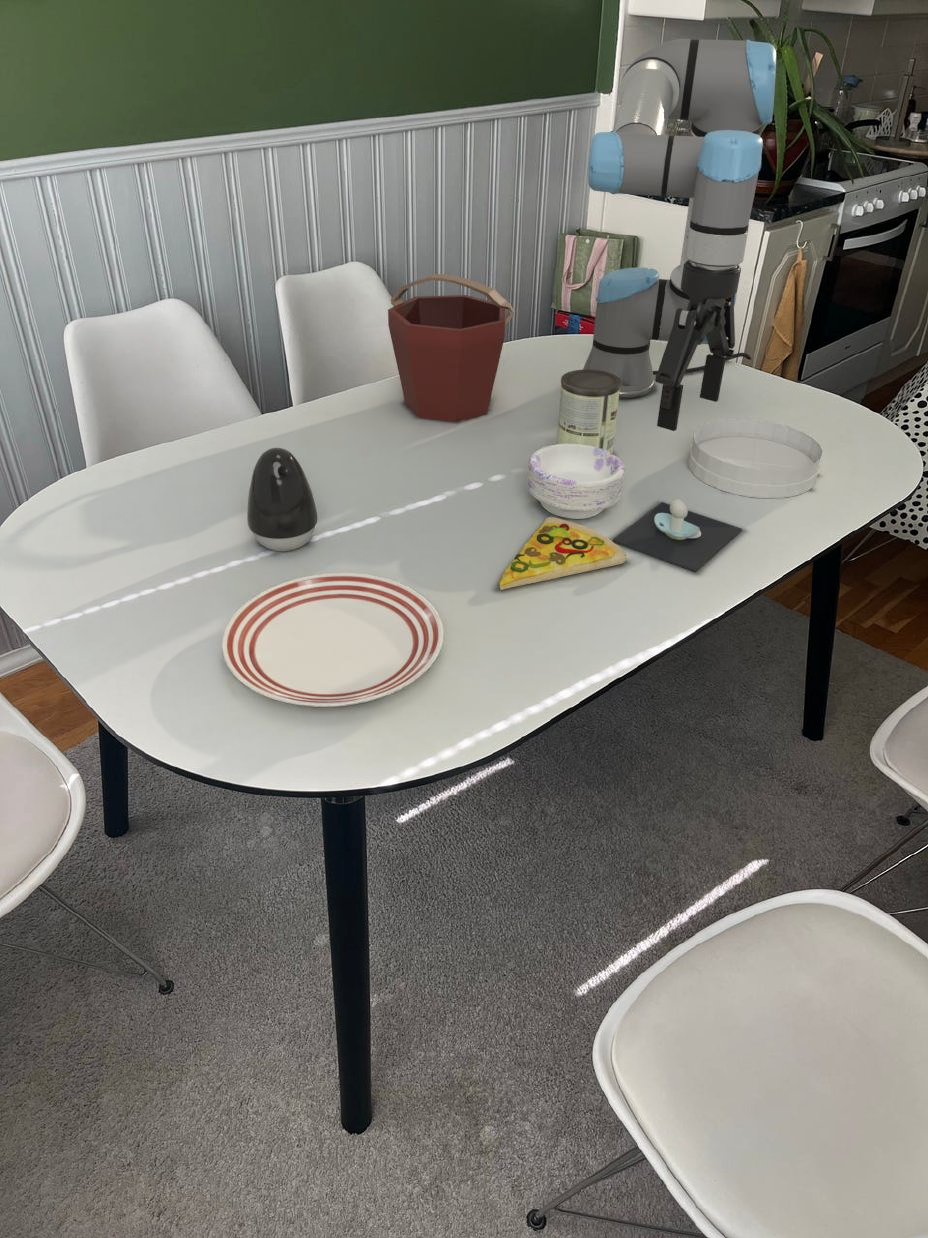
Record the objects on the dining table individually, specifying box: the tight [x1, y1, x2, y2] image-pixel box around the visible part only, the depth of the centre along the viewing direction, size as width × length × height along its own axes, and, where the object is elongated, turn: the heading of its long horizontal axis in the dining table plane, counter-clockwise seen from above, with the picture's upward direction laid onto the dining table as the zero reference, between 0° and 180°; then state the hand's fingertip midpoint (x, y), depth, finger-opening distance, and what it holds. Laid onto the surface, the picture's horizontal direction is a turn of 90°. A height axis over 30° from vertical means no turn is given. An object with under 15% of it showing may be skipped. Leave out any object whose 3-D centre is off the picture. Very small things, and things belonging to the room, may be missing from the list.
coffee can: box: [556, 369, 621, 454], centre depth 166 cm, size 10×10×14 cm
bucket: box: [387, 273, 515, 423], centre depth 181 cm, size 24×22×25 cm
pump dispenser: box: [246, 447, 318, 552], centre depth 138 cm, size 10×10×15 cm
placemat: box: [612, 501, 743, 573], centre depth 146 cm, size 16×14×1 cm
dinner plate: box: [221, 572, 445, 708], centre depth 119 cm, size 27×27×3 cm
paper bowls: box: [526, 443, 626, 520], centre depth 151 cm, size 15×15×8 cm
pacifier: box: [654, 498, 701, 540], centre depth 144 cm, size 7×6×6 cm
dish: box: [687, 418, 823, 499], centre depth 165 cm, size 22×22×5 cm
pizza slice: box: [499, 516, 627, 591], centre depth 137 cm, size 16×21×3 cm
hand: (688, 413), depth 138 cm, fingers open, 13 cm apart
